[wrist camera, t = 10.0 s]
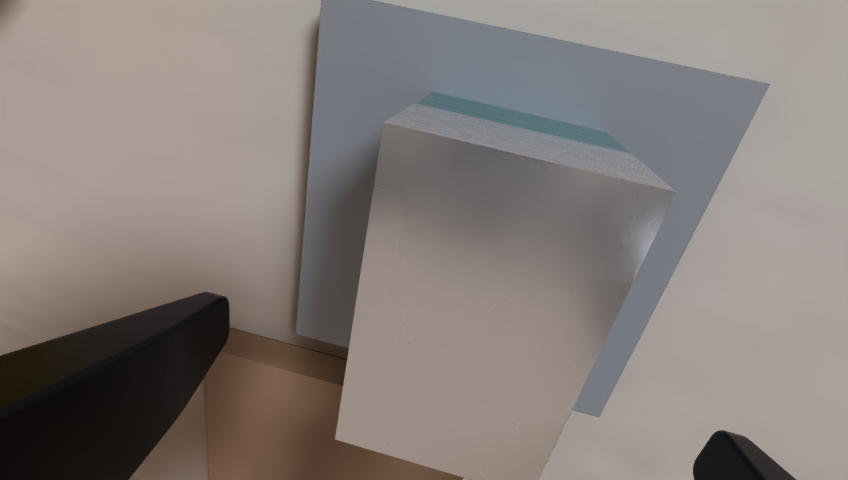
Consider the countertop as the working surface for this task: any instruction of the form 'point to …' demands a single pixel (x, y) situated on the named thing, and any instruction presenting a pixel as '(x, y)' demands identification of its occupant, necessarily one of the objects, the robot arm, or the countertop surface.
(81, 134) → the countertop surface
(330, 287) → the slate stand
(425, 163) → the block
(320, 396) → the walnut stand
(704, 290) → the countertop surface
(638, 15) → the countertop surface
